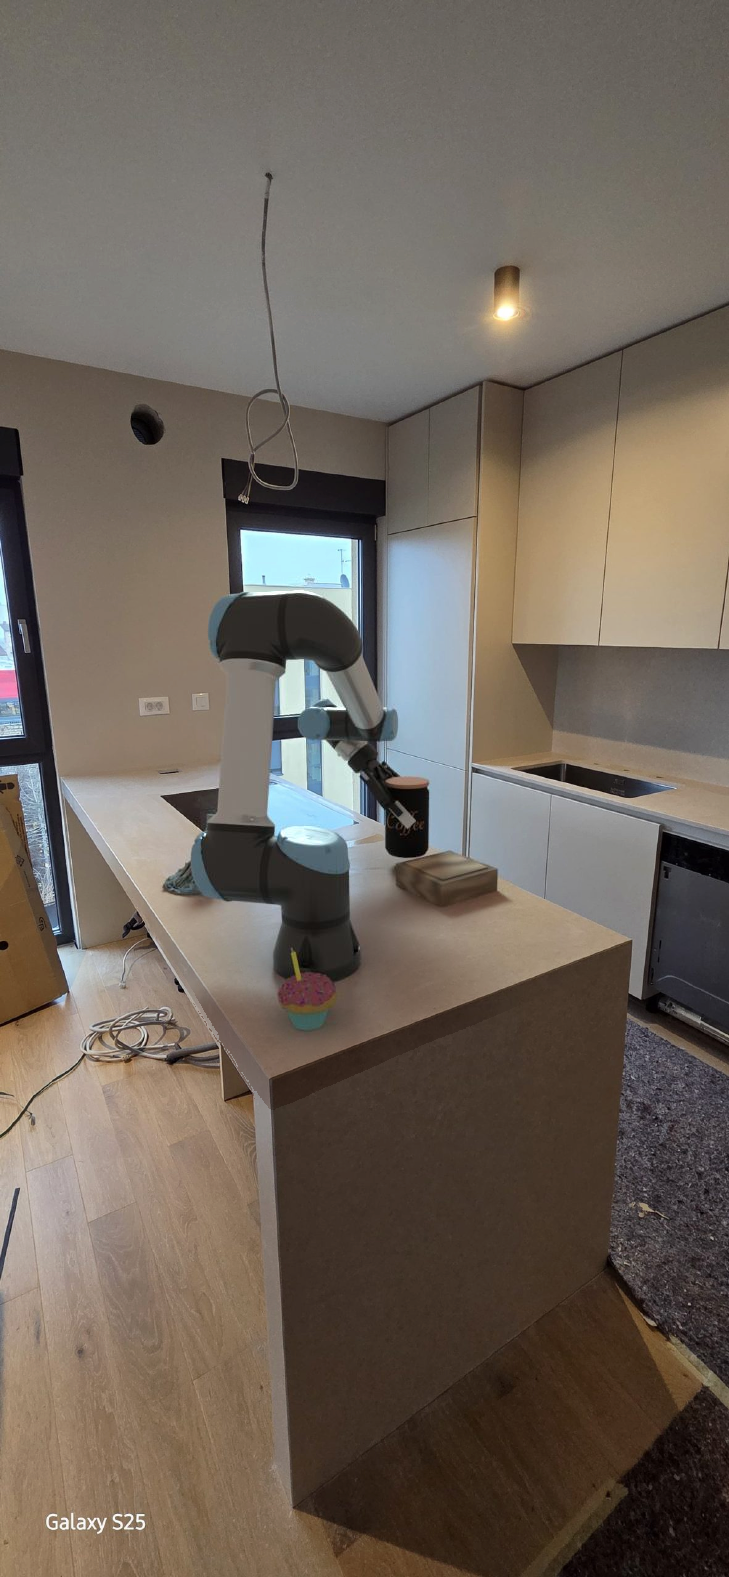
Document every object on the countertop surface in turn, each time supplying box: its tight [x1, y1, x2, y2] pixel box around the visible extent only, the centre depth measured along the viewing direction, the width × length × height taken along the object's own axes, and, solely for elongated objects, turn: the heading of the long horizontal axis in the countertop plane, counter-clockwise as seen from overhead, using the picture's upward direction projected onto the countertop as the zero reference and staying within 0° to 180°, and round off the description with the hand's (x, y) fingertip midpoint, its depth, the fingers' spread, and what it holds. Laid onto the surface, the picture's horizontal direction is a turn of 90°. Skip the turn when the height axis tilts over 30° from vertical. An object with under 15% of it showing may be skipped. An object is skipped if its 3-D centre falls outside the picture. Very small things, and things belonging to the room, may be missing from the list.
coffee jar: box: [384, 776, 430, 859], centre depth 160 cm, size 11×11×18 cm
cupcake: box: [277, 948, 339, 1032], centre depth 95 cm, size 9×8×12 cm
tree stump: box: [162, 813, 216, 896], centre depth 154 cm, size 18×20×18 cm
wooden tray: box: [395, 850, 499, 908], centre depth 147 cm, size 16×16×5 cm
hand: (418, 819), depth 159 cm, fingers closed on coffee jar, 11 cm apart
